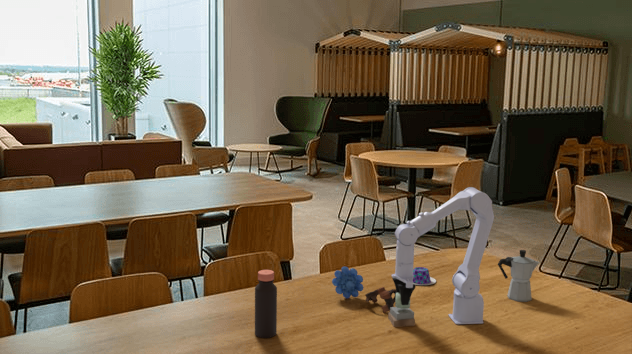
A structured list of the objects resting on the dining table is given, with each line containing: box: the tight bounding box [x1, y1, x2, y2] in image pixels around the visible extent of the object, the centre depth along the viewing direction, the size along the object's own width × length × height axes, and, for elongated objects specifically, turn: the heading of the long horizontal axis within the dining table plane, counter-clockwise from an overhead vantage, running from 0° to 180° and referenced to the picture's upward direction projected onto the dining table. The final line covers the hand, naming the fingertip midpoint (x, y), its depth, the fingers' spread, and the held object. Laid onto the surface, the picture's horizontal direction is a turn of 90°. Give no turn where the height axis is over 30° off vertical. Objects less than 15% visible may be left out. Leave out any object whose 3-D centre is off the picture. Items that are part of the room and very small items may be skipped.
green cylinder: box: [394, 292, 411, 309], centre depth 213 cm, size 5×5×4 cm
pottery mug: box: [365, 286, 396, 313], centre depth 227 cm, size 12×10×8 cm
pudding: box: [413, 266, 437, 286], centre depth 255 cm, size 12×12×5 cm
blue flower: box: [331, 266, 364, 299], centre depth 233 cm, size 12×7×12 cm, turn 101°
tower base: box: [387, 311, 416, 328], centre depth 214 cm, size 7×7×2 cm
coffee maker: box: [497, 249, 541, 303], centre depth 238 cm, size 15×9×18 cm, turn 84°
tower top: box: [389, 306, 415, 320], centre depth 214 cm, size 6×6×2 cm
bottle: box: [254, 269, 278, 339], centre depth 201 cm, size 7×7×20 cm
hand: (402, 301), depth 213 cm, fingers closed on green cylinder, 4 cm apart
